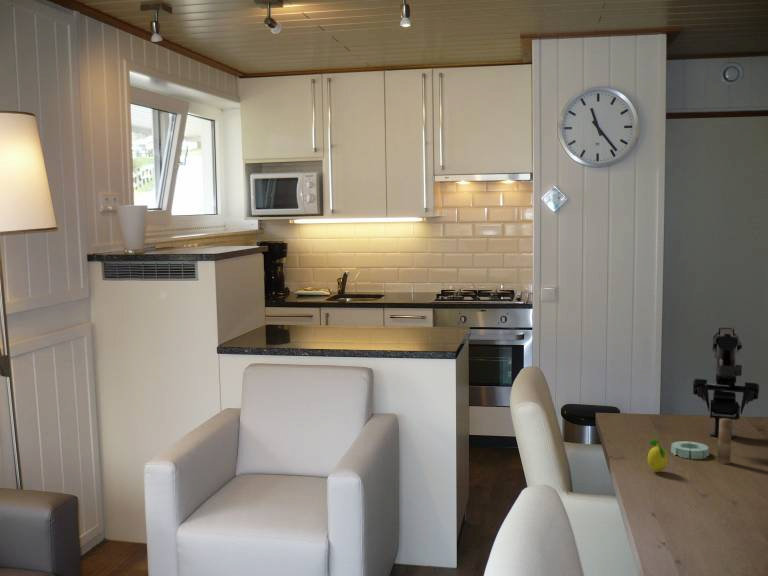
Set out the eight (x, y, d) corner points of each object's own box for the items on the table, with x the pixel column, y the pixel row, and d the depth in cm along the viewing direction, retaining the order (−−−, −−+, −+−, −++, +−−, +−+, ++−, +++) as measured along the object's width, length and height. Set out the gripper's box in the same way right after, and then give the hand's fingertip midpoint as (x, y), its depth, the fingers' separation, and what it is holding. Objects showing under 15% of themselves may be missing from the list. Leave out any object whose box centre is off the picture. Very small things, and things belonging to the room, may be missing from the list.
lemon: (649, 467, 242) (650, 433, 241) (669, 470, 239) (671, 436, 238) (643, 473, 236) (644, 439, 235) (664, 476, 233) (665, 442, 232)
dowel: (720, 460, 249) (721, 417, 248) (731, 462, 246) (733, 419, 245) (715, 462, 246) (717, 419, 245) (727, 465, 244) (729, 421, 243)
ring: (679, 447, 262) (680, 439, 262) (713, 453, 256) (713, 445, 255) (666, 454, 255) (666, 446, 254) (700, 461, 248) (700, 452, 248)
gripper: (694, 352, 259) (692, 395, 250) (760, 356, 252) (760, 400, 243) (694, 372, 267) (692, 414, 258) (757, 377, 261) (757, 420, 251)
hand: (724, 412), depth 253 cm, fingers open, 9 cm apart
